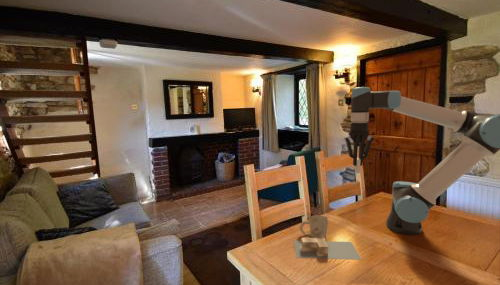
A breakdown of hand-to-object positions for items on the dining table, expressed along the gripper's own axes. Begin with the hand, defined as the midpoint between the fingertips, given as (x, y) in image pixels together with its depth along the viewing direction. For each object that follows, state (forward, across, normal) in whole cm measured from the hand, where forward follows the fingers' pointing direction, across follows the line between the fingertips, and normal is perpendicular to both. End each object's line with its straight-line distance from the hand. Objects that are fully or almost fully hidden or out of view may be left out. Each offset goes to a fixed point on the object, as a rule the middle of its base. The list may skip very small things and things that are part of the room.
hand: (357, 172), depth 120 cm
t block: (+28, +23, +19) cm, 41 cm away
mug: (+30, +21, +8) cm, 37 cm away
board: (+29, +18, +19) cm, 39 cm away
